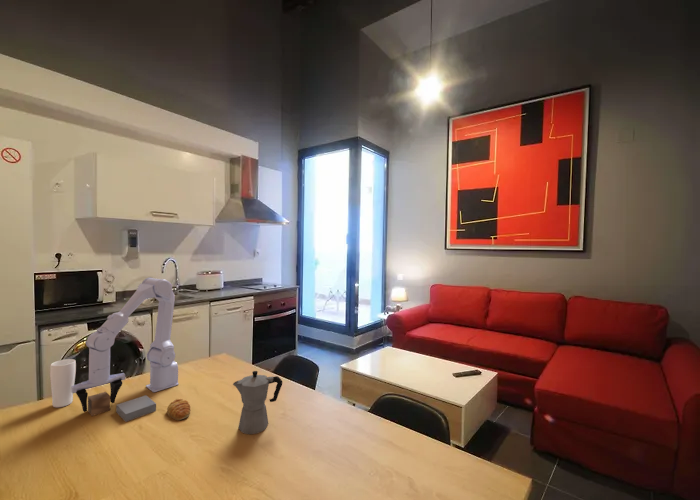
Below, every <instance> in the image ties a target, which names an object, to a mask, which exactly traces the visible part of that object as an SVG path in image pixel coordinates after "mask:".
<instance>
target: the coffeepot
mask: <svg viewBox="0 0 700 500" xmlns="http://www.w3.org/2000/svg"><path fill="white" fill-rule="evenodd" d="M258 372H259V371H257V370H253V371H252V373H251V375H247V376H243V378H241V379H239V380H236V381H234V382H233V383H232V386H234V387H235V388H236V389H237V391H238V392H239V394H240V397H241V403H242V404H243V405H242V406H243V407H242V408H241V411H240V412H241V413H240V419H239V422H238V426H237V427H238V429H239V431H240V432H241V433H243V434H245V435H257V434H260V433H262V432H263V431H265V430H266V429H267V427H268V425H269V417H268V412H267V405H266V404H265V403H266V400H267V396H268V391H269V385H270V384H273V383H277V384H276V385H275V391H274V392H273V397H272V398H269V402H270V403H272V402H277V399H278V396H279V394H280V391H281V389H282V385H283V380H282V379H281V378H280V377H279V376H278V375H277V376H276V375H275V376H267V375H265V374H258Z"/></svg>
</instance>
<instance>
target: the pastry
mask: <svg viewBox="0 0 700 500" xmlns="http://www.w3.org/2000/svg"><path fill="white" fill-rule="evenodd" d="M189 403H190V402H188V401H187V399H186V400H184V399H183V398H177V399H175V400H173V401H171V402H170V403H169V405H168V406H167V408H166V409H167V411H166V413H167V415H168V417H170V418H171V419H173V420H176V421H181V420H183V419H187V418H188V417H189V416H190V415H191V404H189Z"/></svg>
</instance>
